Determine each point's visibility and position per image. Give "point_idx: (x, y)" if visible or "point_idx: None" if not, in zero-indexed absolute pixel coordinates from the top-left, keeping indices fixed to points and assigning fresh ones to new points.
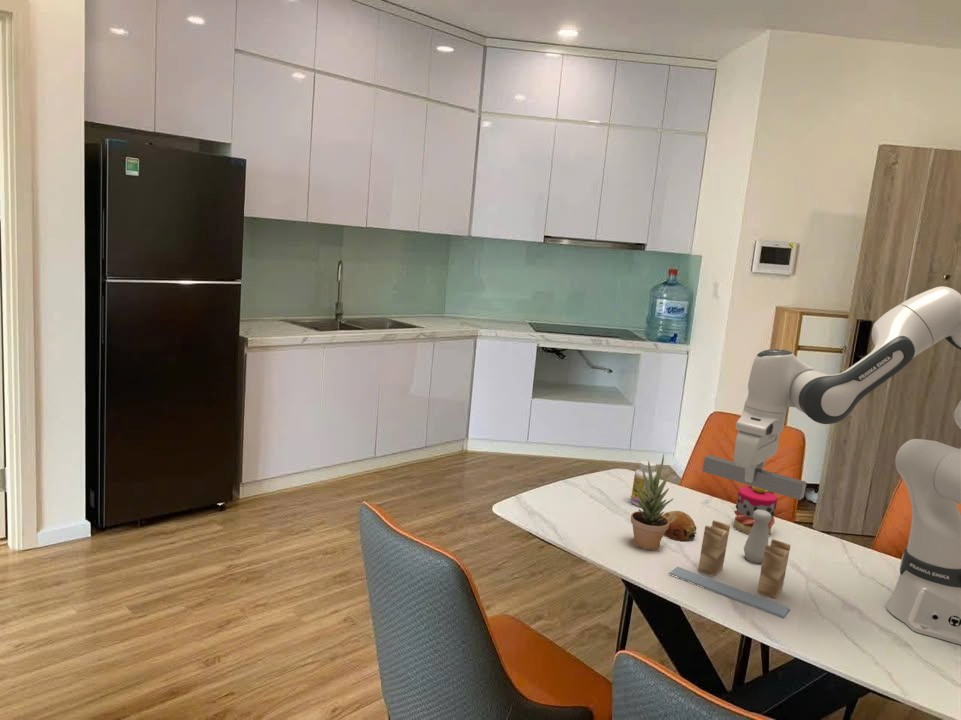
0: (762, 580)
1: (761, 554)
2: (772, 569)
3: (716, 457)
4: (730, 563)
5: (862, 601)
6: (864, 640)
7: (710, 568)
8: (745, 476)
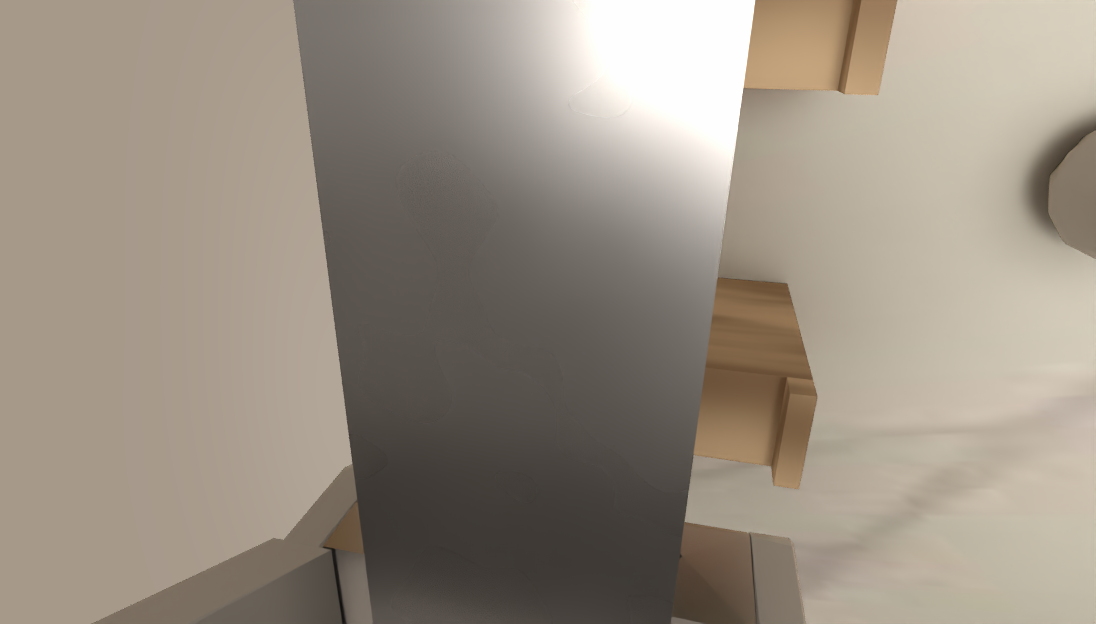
0: None
1: (1067, 236)
2: None
3: None
4: (939, 82)
5: (903, 603)
6: None
7: None
8: (313, 510)
